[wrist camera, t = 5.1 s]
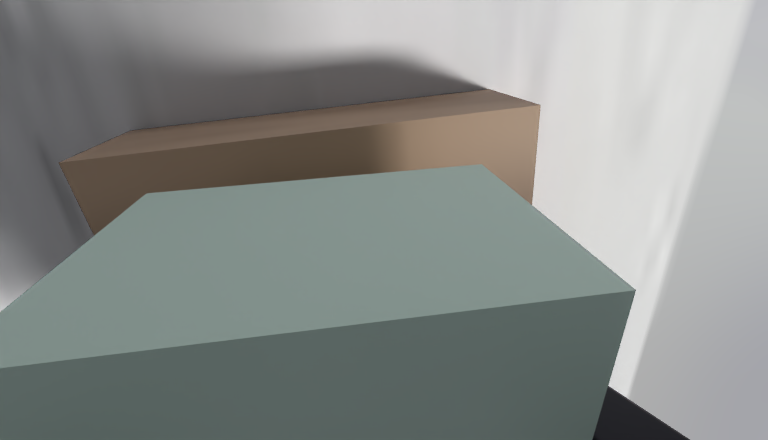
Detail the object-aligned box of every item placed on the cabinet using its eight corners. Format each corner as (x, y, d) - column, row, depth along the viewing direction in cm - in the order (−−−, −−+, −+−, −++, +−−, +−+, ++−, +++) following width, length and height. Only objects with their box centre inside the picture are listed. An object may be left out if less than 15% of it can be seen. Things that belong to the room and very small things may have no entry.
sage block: (465, 416, 10) (538, 622, 7) (235, 450, 10) (176, 696, 6) (481, 164, 7) (635, 290, 3) (146, 193, 7) (-81, 379, 3)
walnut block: (482, 308, 14) (517, 369, 12) (215, 350, 14) (187, 426, 11) (488, 89, 11) (540, 104, 8) (130, 130, 10) (58, 162, 8)
